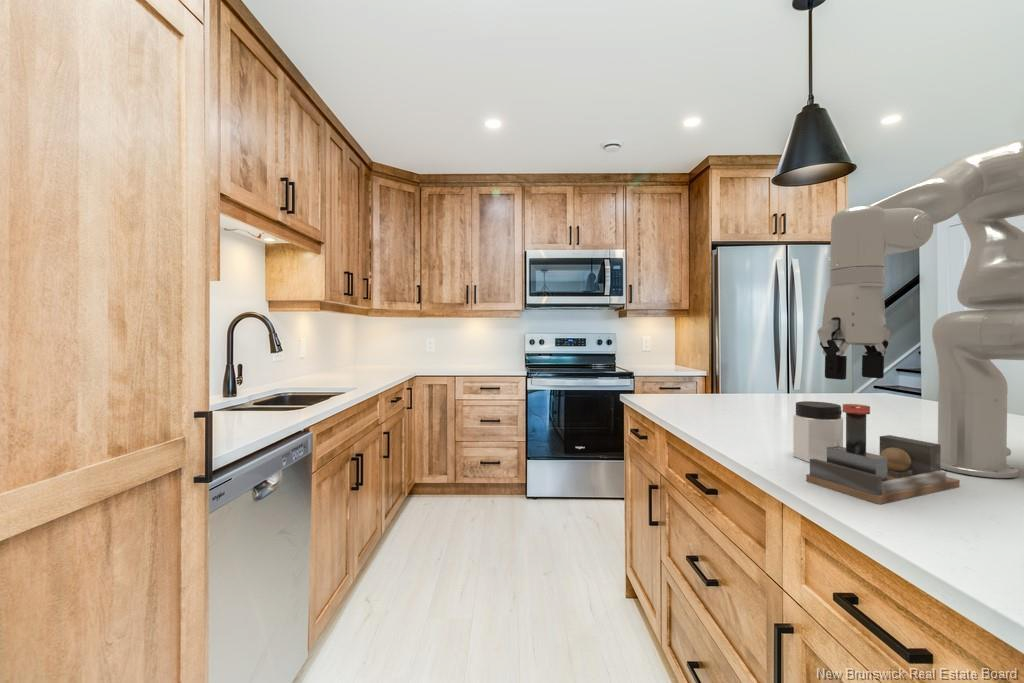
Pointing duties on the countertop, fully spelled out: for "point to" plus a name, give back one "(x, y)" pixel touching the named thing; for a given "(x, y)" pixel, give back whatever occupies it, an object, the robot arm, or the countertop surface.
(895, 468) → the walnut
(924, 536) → the countertop surface
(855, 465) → the handle
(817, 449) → the jar
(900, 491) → the press base
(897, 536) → the countertop surface
